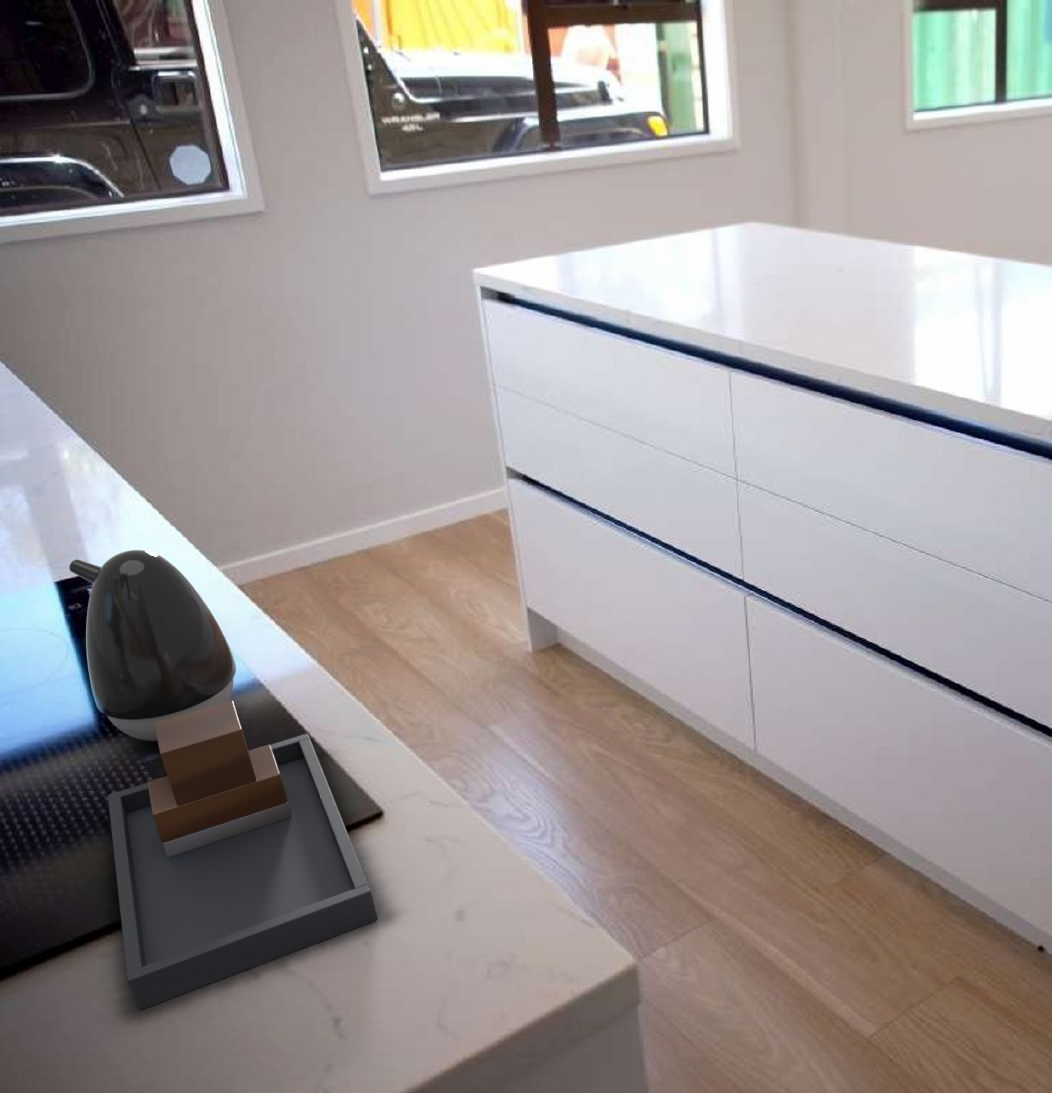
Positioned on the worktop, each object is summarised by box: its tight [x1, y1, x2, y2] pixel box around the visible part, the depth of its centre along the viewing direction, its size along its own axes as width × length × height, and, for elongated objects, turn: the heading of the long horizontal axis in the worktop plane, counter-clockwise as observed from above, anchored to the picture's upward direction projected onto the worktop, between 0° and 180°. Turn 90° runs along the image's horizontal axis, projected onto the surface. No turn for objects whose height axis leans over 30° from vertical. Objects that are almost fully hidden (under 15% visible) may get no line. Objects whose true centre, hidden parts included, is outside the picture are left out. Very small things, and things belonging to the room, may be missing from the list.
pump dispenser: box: [68, 549, 237, 742], centre depth 98 cm, size 10×10×15 cm
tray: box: [107, 733, 379, 1011], centre depth 83 cm, size 22×14×2 cm, turn 31°
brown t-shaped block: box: [147, 700, 292, 858], centre depth 85 cm, size 4×8×8 cm, turn 120°
